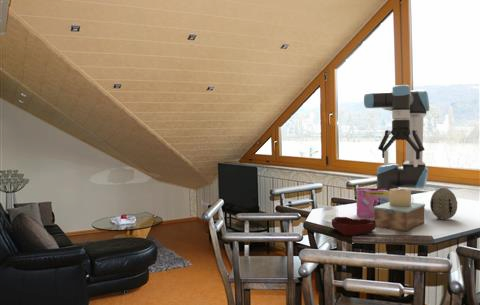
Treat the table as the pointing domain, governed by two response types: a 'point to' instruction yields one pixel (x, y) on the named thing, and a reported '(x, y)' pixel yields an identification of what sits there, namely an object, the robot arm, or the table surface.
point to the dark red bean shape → (353, 225)
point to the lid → (398, 209)
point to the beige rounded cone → (400, 197)
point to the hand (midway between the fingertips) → (400, 166)
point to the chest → (399, 219)
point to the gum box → (370, 200)
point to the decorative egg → (443, 203)
